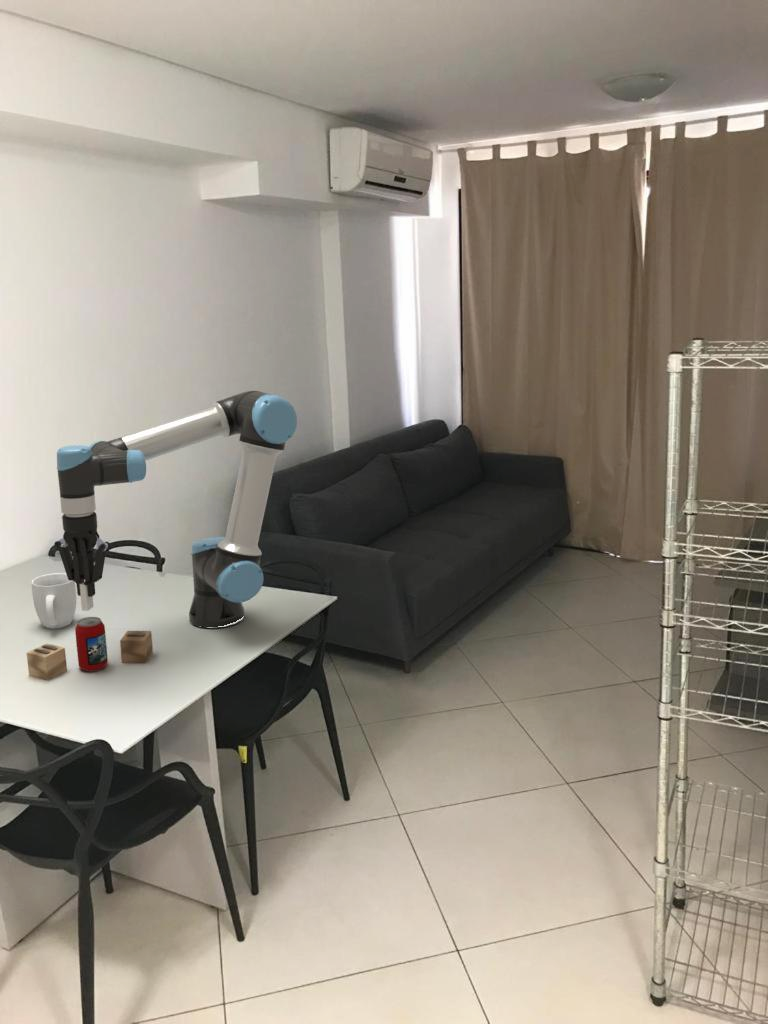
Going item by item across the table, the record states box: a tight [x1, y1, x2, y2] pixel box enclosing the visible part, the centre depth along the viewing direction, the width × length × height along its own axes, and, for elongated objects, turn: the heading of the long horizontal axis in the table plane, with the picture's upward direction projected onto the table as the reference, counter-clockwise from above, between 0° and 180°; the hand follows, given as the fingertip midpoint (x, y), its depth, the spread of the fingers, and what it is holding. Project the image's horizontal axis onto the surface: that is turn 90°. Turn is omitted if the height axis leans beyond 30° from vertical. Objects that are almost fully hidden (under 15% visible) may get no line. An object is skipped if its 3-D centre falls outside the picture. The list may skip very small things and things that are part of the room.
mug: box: [31, 572, 77, 630], centre depth 225 cm, size 15×11×13 cm
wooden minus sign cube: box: [119, 630, 154, 664], centre depth 207 cm, size 6×6×6 cm
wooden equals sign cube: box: [26, 642, 68, 681], centre depth 199 cm, size 6×6×6 cm
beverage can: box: [74, 616, 109, 672], centre depth 201 cm, size 7×7×12 cm
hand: (87, 608), depth 199 cm, fingers closed
